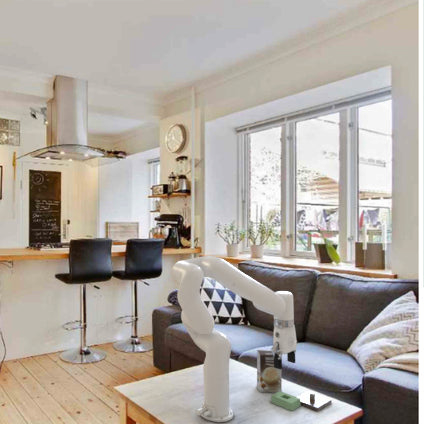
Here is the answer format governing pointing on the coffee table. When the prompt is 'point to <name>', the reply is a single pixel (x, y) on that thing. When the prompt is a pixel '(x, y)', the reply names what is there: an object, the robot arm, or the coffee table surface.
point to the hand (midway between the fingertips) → (284, 365)
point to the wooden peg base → (314, 401)
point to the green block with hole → (285, 400)
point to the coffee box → (268, 373)
